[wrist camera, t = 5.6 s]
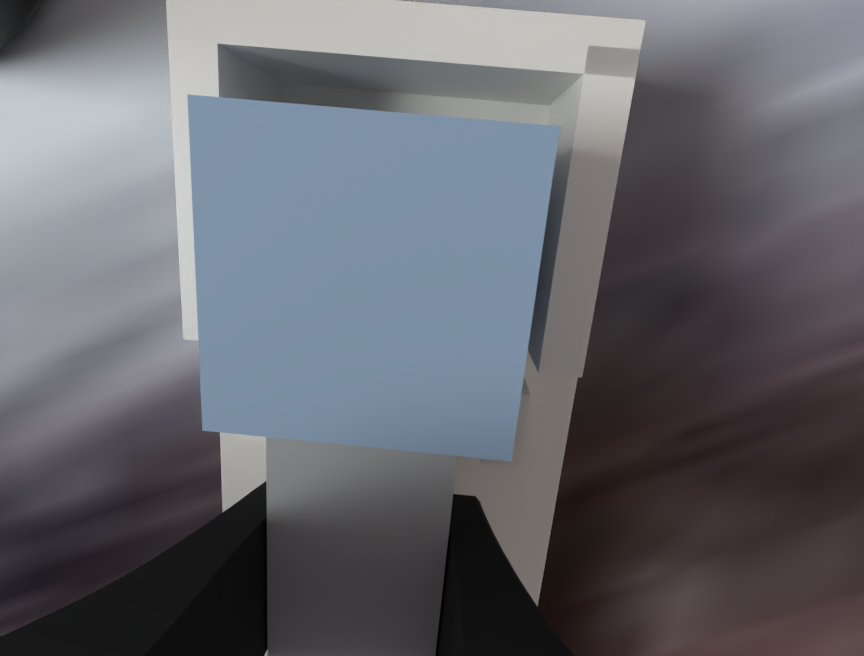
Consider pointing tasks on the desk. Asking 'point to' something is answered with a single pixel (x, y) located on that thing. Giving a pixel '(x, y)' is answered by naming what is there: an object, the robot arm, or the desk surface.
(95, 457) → the desk surface
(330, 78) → the slider rail
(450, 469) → the blue-capped grey bar
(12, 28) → the supplement bottle
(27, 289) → the desk surface
